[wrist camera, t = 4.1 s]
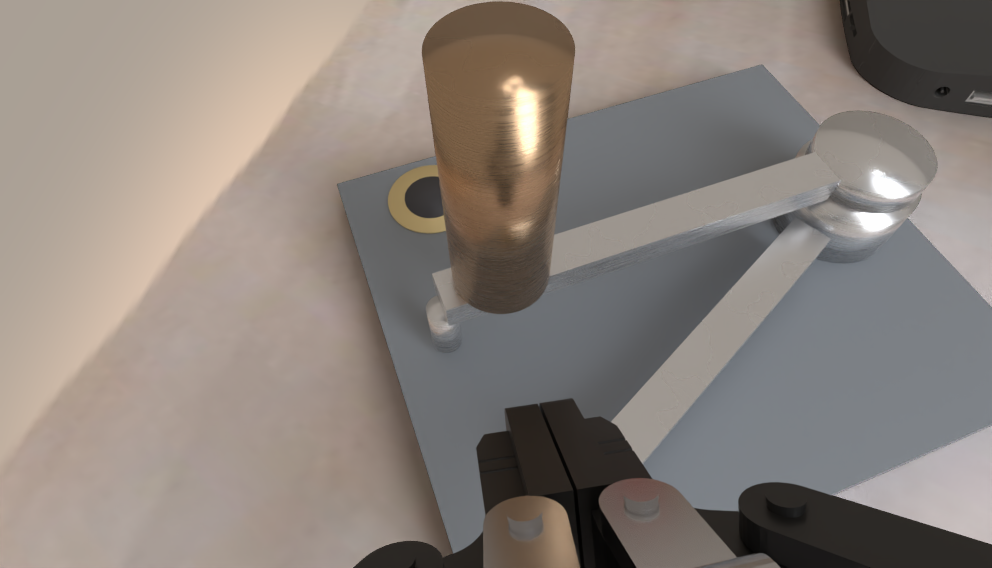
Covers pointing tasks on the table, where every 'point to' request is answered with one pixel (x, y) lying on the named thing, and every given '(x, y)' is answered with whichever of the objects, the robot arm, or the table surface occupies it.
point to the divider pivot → (751, 310)
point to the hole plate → (683, 318)
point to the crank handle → (538, 164)
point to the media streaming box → (924, 50)
